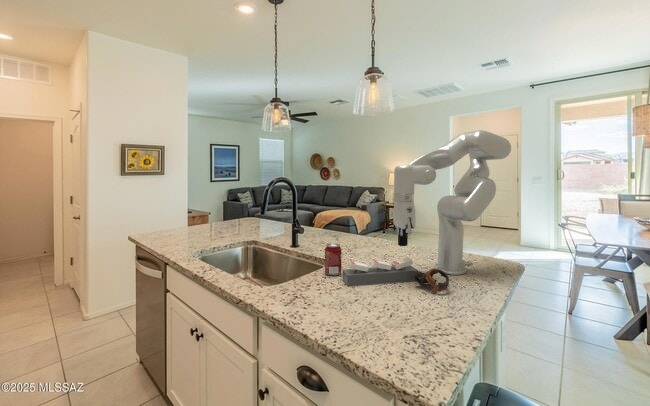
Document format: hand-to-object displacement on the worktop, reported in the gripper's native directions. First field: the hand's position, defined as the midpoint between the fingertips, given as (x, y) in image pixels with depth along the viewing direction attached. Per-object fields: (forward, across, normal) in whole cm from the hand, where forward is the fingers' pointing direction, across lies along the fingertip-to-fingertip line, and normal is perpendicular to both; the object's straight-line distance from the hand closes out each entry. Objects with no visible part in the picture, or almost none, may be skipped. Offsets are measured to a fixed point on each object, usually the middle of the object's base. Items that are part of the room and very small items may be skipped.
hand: (402, 245), depth 116 cm
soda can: (+13, +11, +25) cm, 30 cm away
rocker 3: (+7, 0, 0) cm, 7 cm away
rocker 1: (+7, 0, +18) cm, 19 cm away
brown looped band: (+13, -12, -5) cm, 19 cm away
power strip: (+13, 0, +6) cm, 14 cm away
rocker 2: (+7, 0, +9) cm, 12 cm away
